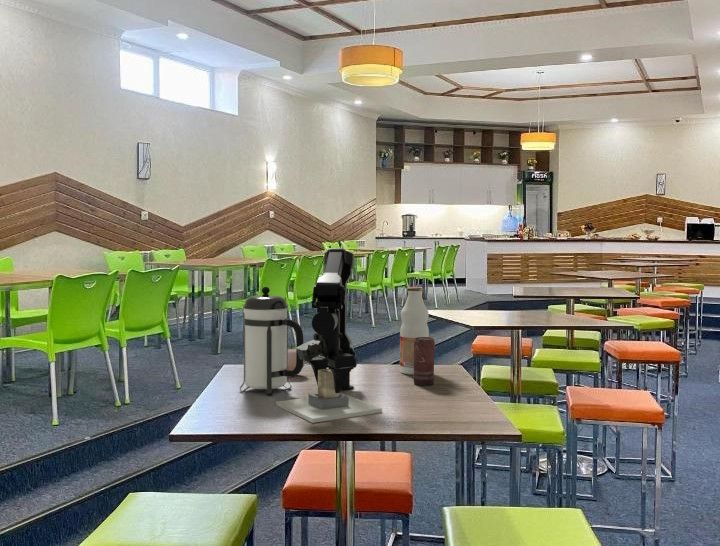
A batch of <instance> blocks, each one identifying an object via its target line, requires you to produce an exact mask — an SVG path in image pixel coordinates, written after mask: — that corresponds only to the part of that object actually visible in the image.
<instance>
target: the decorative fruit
mask: <svg viewBox="0 0 720 546" xmlns="http://www.w3.org/2000/svg"><path fill="white" fill-rule="evenodd" d="M305 365H306V361H304V360H303V367H302V369H304V366H305ZM295 367H296V346H295V347H293V344H290V347H288V370H291V371H292V370H294V369H295Z"/></svg>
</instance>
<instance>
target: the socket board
mask: <svg viewBox="0 0 720 546" xmlns="http://www.w3.org/2000/svg"><path fill="white" fill-rule="evenodd" d="M340 394H343V395H346V396H348V397H349V406H347V407H340V408H333V409H326V410H322V409H319V408H317V407H315V406H312V405H310V404H308V397H301V398H295V399H287V400H281V401H279V400H278V401H276V407H278V408H281V409H283V410H285V411H287V412H289V413H291V414H293V415H295V416H297V417H300V418H301V419H303V420H305V421H307V422H310V423H312V424H315V423H319V422H321V423H322V422H326V421H333V420H334V421H335V420H340V419H347V418H352V417H353V418H354V417H360V416H361V417H362V416H367V415H373V414H378V413H379V414H380V413H383V408H382V407H379V406H378V405H374V404H371V403H369V402H367V401H363V400H361V399H358V398H356V397H353V396H350V395H349V394H346V393H343V392H340Z"/></svg>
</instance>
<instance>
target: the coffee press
mask: <svg viewBox="0 0 720 546" xmlns="http://www.w3.org/2000/svg"><path fill="white" fill-rule="evenodd" d="M270 291H271V290H270V288H269V287H268V286H263V287H262V289H261V293H262V294H260V295H253V296H252V295H251V296H249V297H248V298H247V299H245V301H244V304H243V305H242V309H243V314H244V317H243V382H242V384H241V385H240V386H239V391H240V393H244V392H246V391H247V390H248V389H255V390H265V391H266V396H268V397H269V396H273V390H276V389H279V388H281V387H284V388H285V389H287V390H291V389H292V385H291V383H290V382H289V379H288V377H289V378H291V377H294V376H295V377H296V376H297V375H299V374H300V373H301V372H302V370H303V368H304V367H303V360H300V358H299V356H298V353H297V350H296V367H295V369H294V370H292V371H291V370H288V348H289V346H288V345H289V344H288V343H289V342H288V341H289V340H288V336H289V335H288V327H291V328H292V329H293V330H294V332H295V337H296V338H295V339H296V341H295V343H296V344H295V345H296V346H295V347H296V348H297V347H298V346H300V345H302V344H304V334H303V329H302V326H301V325H300V324H299V322H297V321H295V320H293V319H288V316H287V315H288V314H287V313H288V308H289V304H288V303H287V301H286V299H285V298H283V297H282V296H280V295H272V294H270ZM302 367H303V368H302ZM287 383H288V384H289V387H287V386H285V385H286V384H287ZM244 385H245V386H246V388H245V389H242V388H243V386H244ZM241 389H242V390H241Z"/></svg>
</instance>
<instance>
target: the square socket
mask: <svg viewBox="0 0 720 546" xmlns="http://www.w3.org/2000/svg"><path fill="white" fill-rule="evenodd" d="M340 393H341V392H340ZM340 393H339V397H334V398H327V399H323V398H321V397H318V392H315V393H308V396H307V398H308V404H310V405H312V406H315V407H317V408H319V409H322V410H326V409H333V408H340V407H347V406H349V397H348V396H349V395H348V396H346V395H347V394H346V395H343V394H344V393H343V394H340Z"/></svg>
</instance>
